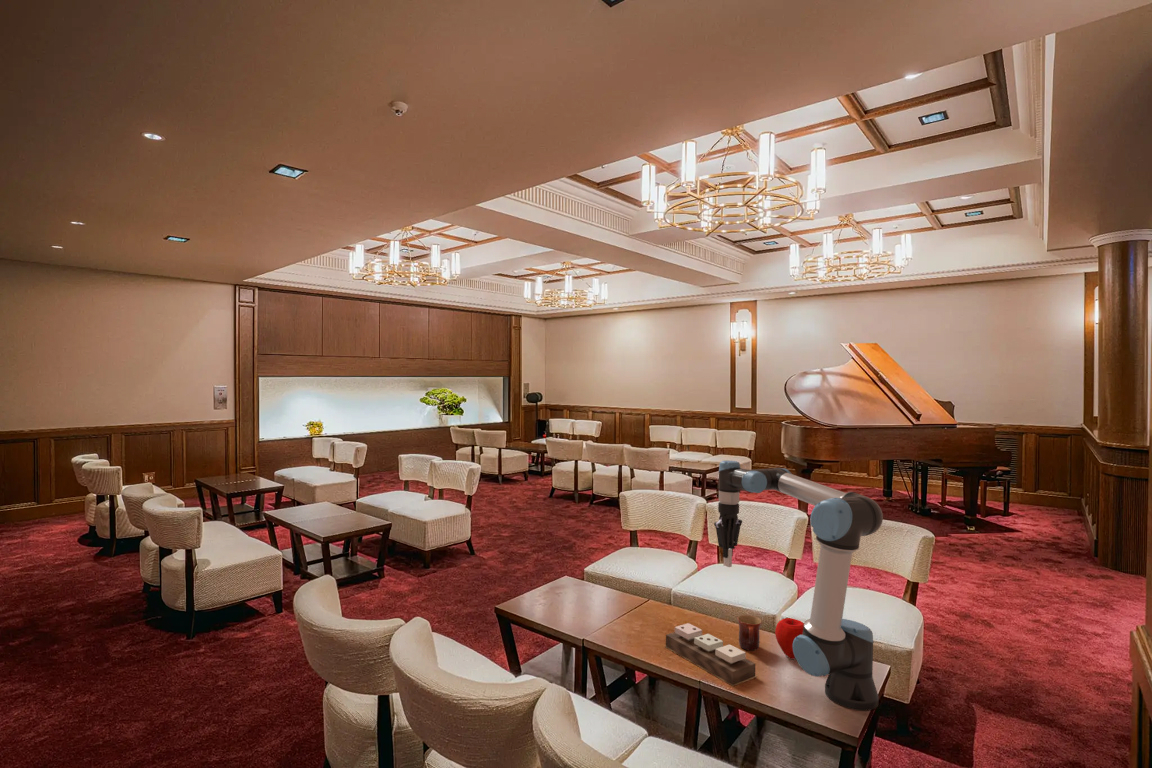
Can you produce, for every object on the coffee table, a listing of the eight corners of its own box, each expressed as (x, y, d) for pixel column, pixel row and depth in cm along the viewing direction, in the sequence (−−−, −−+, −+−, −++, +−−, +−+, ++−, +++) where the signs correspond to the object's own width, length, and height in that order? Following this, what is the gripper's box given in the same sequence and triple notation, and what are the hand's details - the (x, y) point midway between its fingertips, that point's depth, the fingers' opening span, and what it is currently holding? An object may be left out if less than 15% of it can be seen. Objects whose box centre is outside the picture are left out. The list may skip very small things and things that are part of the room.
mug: (735, 640, 216) (736, 613, 216) (759, 643, 214) (760, 616, 214) (738, 655, 204) (739, 626, 204) (763, 657, 202) (764, 629, 203)
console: (756, 677, 188) (756, 663, 188) (732, 686, 182) (733, 672, 182) (687, 639, 216) (687, 628, 216) (664, 646, 209) (664, 634, 209)
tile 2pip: (701, 647, 206) (702, 629, 206) (687, 652, 202) (688, 633, 202) (688, 640, 212) (688, 622, 212) (674, 644, 208) (674, 626, 208)
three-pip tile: (722, 659, 198) (723, 640, 198) (708, 664, 194) (708, 644, 194) (707, 651, 204) (708, 633, 204) (693, 655, 200) (694, 637, 200)
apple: (767, 650, 208) (768, 614, 208) (795, 647, 211) (796, 612, 211) (787, 666, 197) (788, 627, 197) (816, 662, 200) (817, 624, 200)
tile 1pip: (745, 671, 189) (745, 651, 190) (731, 676, 186) (731, 656, 186) (729, 662, 195) (729, 643, 195) (715, 667, 192) (715, 648, 192)
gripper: (732, 499, 217) (731, 560, 217) (708, 502, 210) (707, 565, 210) (748, 502, 211) (747, 566, 210) (724, 505, 204) (723, 571, 203)
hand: (727, 565), depth 210 cm, fingers closed
